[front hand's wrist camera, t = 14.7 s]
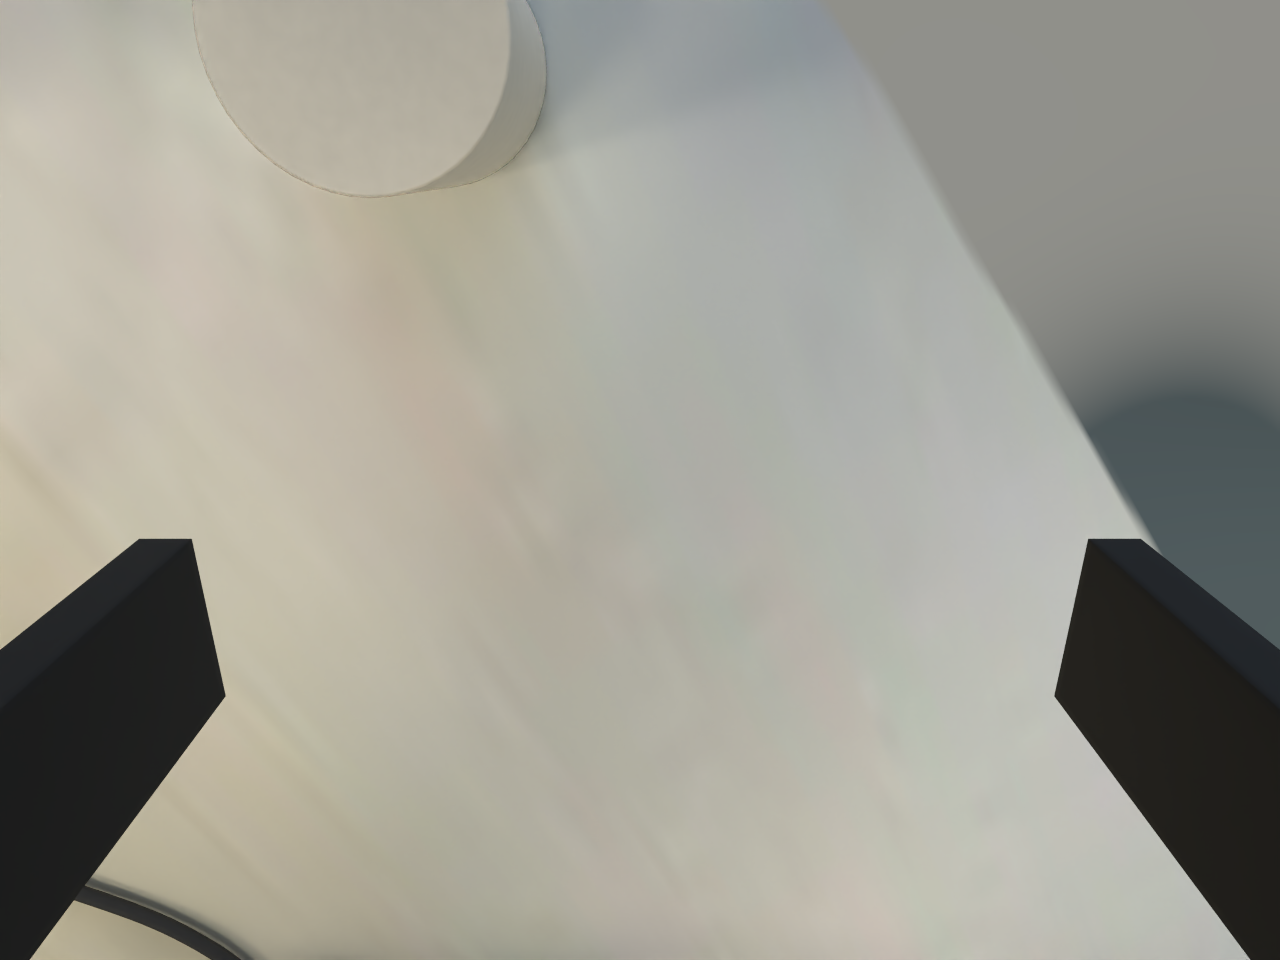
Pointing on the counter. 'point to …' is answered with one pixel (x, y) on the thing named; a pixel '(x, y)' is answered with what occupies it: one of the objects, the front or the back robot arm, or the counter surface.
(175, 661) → the front robot arm
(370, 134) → the cylinder
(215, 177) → the counter surface
